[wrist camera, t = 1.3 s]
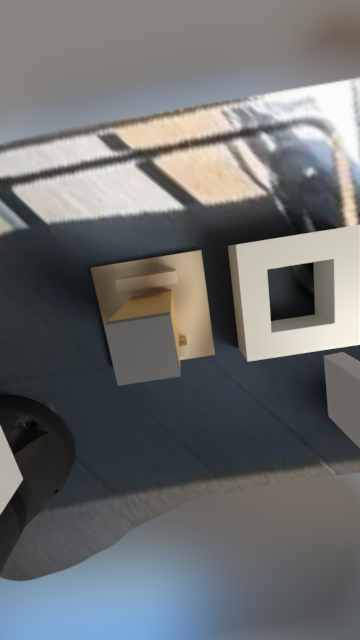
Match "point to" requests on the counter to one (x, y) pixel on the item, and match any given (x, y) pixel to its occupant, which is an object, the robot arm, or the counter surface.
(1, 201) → the counter surface
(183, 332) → the beige plate with rail
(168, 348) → the plug
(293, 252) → the port
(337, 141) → the counter surface
